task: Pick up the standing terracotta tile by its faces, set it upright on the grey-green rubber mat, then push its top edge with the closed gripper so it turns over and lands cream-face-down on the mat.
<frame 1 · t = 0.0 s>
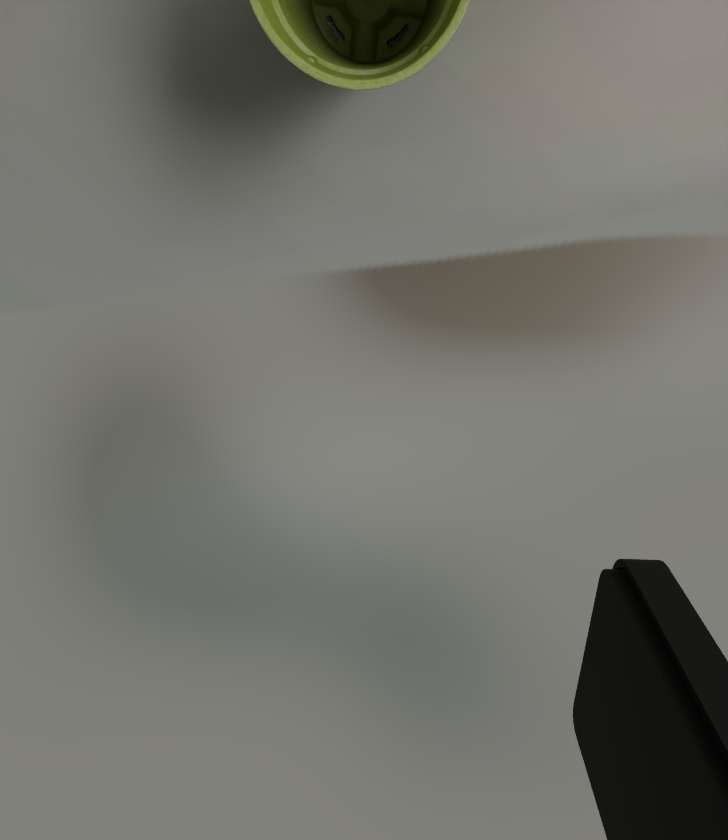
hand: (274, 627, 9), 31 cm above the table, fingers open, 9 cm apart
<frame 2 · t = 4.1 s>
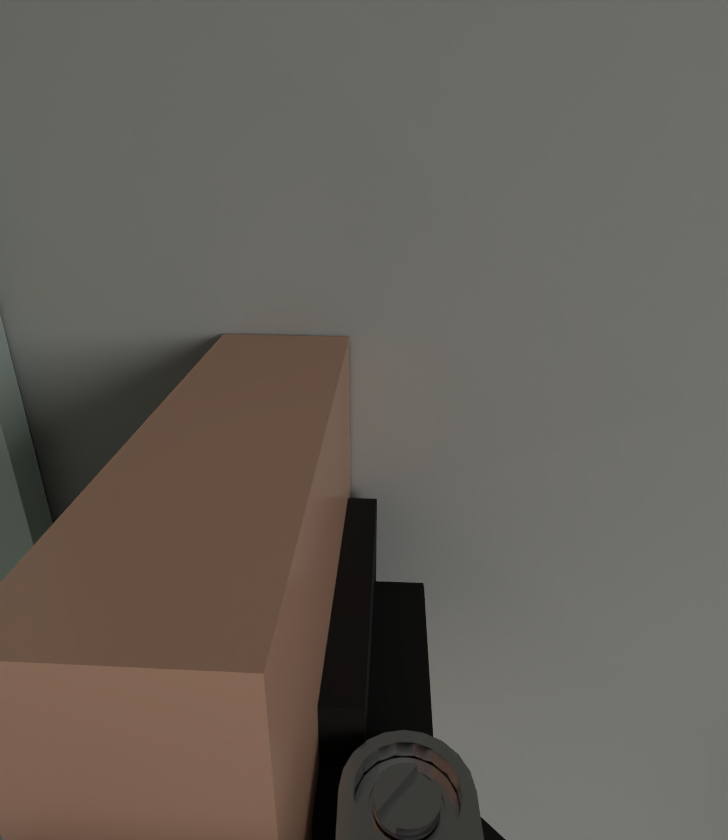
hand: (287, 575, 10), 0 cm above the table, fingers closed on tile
tile: (297, 564, 10), on the table, touching gripper
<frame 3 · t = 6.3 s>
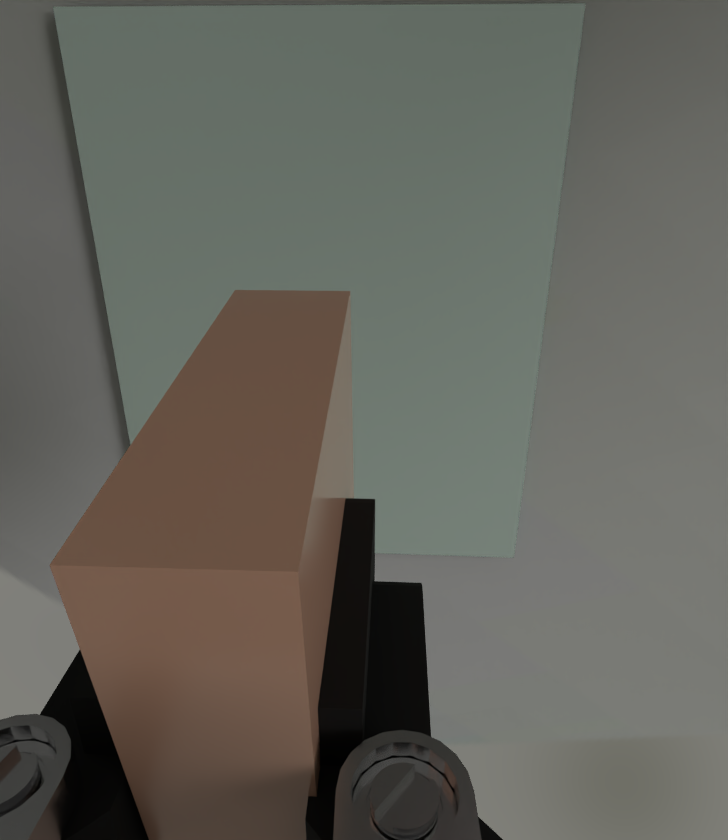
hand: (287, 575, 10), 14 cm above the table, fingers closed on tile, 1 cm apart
tile: (306, 495, 12), point 13 cm above the table, tilted 6°, touching gripper
mat: (324, 324, 23), on the table
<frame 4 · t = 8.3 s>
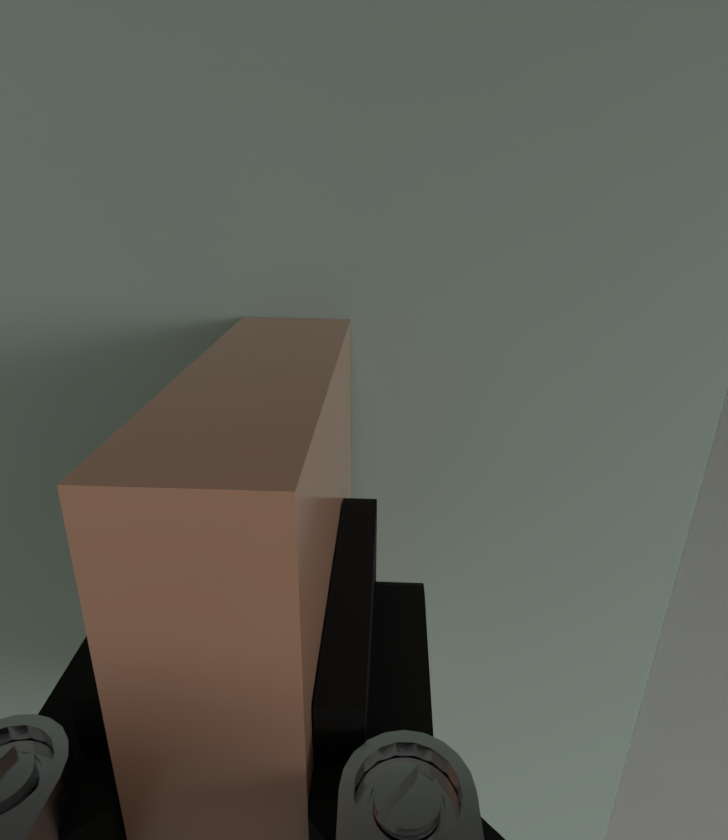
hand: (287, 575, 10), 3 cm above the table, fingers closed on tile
tile: (303, 528, 12), point 1 cm above the table, touching gripper, mat
mat: (269, 483, 12), on the table
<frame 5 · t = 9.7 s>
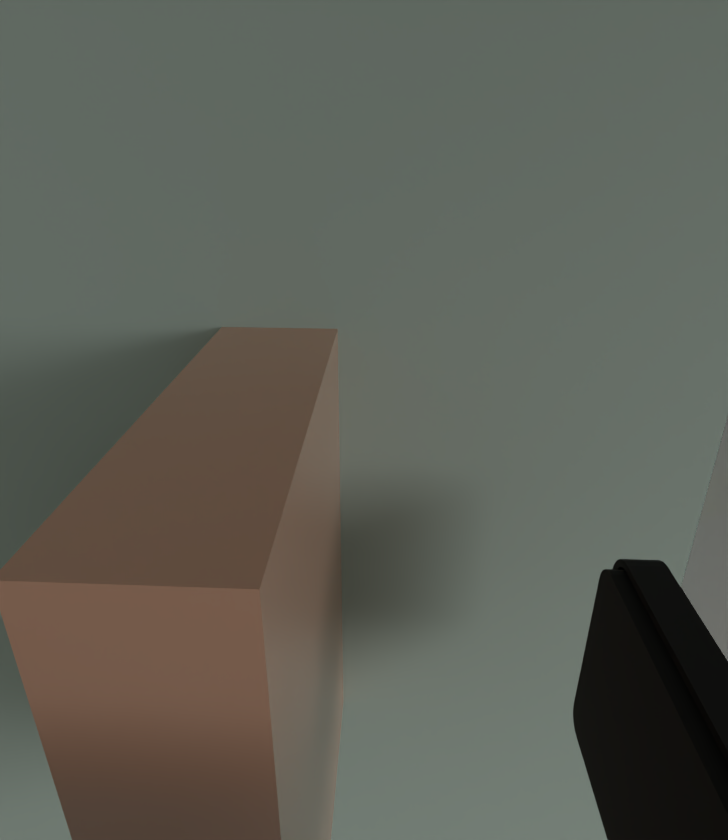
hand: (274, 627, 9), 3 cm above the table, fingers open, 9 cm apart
tile: (291, 541, 11), point 1 cm above the table, touching mat
mat: (248, 515, 12), on the table
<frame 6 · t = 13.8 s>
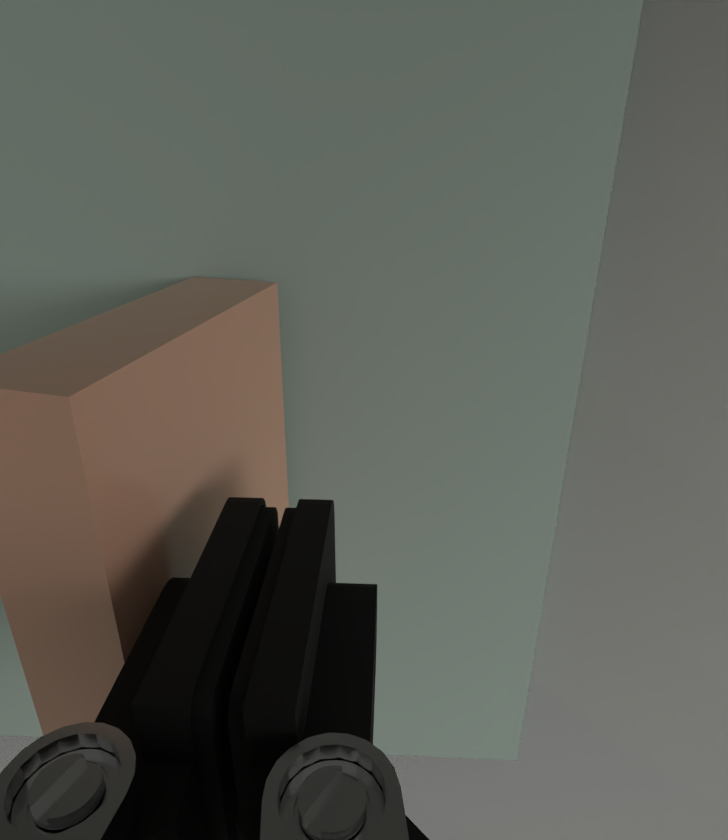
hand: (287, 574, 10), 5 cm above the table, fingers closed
tile: (249, 457, 14), point 1 cm above the table, tilted 12°, touching mat
mat: (218, 435, 15), on the table
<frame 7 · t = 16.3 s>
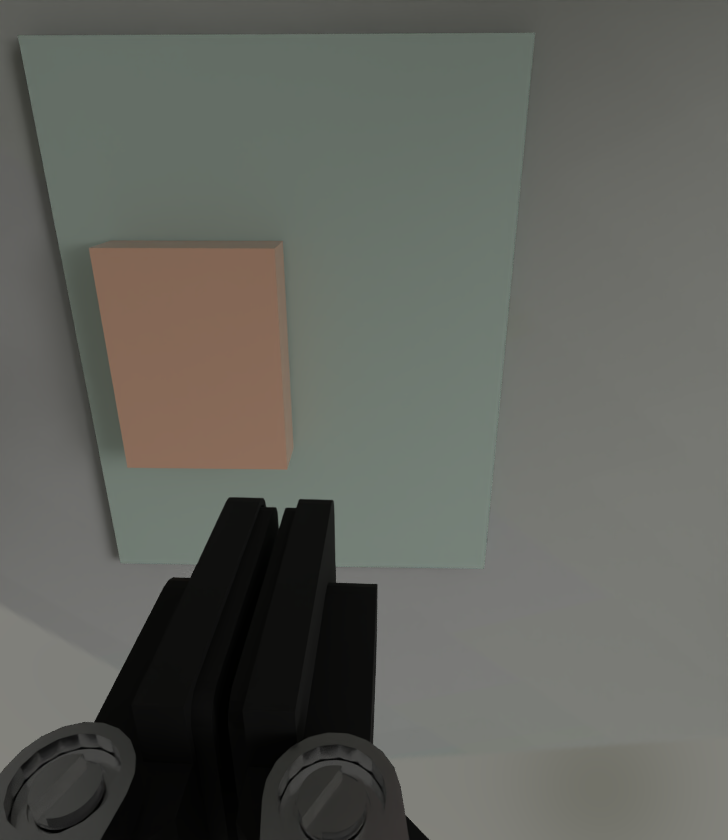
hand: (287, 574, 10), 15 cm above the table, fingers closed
tile: (285, 359, 22), point 2 cm above the table, tilted 90°, touching mat
mat: (292, 342, 24), on the table
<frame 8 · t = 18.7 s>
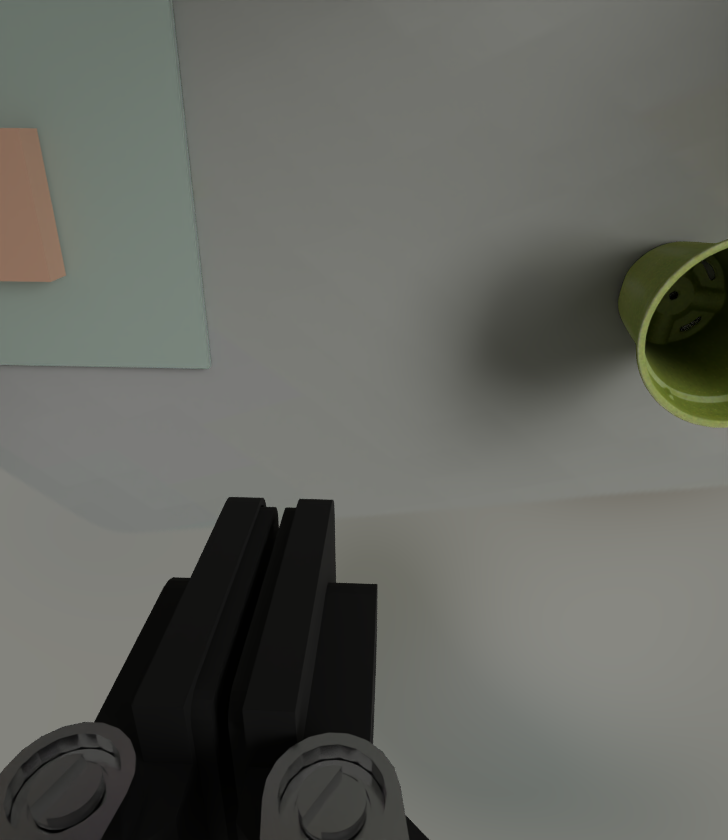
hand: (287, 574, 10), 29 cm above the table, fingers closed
tile: (44, 207, 35), point 2 cm above the table, tilted 90°, touching mat
plant pot: (667, 293, 37), on the table
mat: (58, 201, 36), on the table
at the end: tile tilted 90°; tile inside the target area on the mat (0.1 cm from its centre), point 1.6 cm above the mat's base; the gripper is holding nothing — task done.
